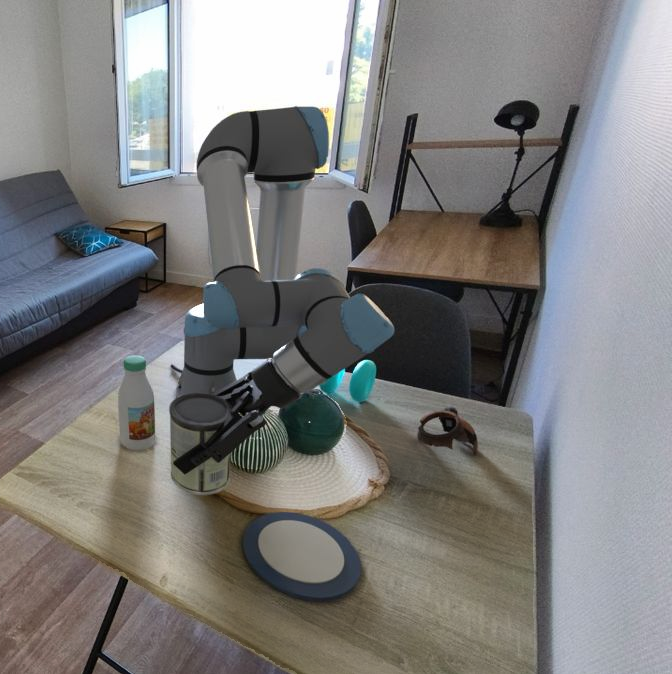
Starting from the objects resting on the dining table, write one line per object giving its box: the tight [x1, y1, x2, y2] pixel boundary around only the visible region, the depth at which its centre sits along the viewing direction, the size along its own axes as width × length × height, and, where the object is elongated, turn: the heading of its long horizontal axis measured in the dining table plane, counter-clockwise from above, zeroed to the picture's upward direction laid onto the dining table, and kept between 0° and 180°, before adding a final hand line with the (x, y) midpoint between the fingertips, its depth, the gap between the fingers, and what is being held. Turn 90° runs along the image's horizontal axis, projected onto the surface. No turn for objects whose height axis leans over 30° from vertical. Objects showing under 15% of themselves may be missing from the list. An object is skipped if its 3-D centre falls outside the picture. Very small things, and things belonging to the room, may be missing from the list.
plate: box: [242, 511, 362, 602], centre depth 80 cm, size 17×17×1 cm
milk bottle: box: [117, 355, 156, 451], centre depth 107 cm, size 8×8×20 cm
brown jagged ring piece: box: [416, 406, 479, 456], centre depth 101 cm, size 12×10×8 cm
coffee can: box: [168, 393, 233, 496], centre depth 86 cm, size 10×10×14 cm
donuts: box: [318, 359, 377, 403], centre depth 119 cm, size 10×10×10 cm
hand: (182, 448), depth 88 cm, fingers closed on coffee can, 10 cm apart
